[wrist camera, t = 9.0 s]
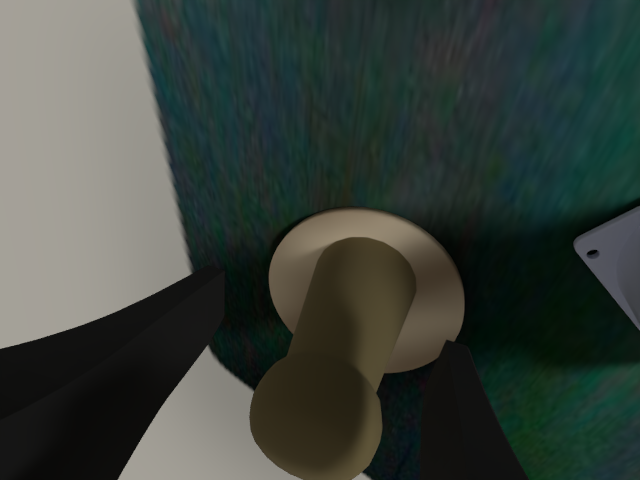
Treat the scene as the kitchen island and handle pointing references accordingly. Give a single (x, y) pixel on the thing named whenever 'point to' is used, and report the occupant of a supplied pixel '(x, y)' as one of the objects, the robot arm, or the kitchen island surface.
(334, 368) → the pepper shaker
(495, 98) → the kitchen island surface
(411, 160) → the kitchen island surface
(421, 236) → the cork trivet
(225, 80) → the kitchen island surface
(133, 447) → the robot arm
